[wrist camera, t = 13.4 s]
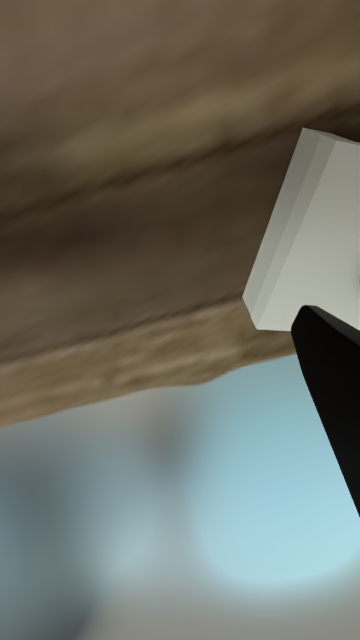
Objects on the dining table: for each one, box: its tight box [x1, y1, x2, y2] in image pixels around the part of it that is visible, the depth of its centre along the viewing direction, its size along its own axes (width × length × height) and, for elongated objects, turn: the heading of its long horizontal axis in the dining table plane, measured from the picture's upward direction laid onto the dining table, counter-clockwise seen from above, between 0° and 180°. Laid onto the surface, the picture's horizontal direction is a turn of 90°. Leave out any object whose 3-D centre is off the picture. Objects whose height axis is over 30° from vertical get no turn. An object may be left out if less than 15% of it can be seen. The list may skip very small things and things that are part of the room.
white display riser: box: [242, 128, 360, 331], centre depth 22 cm, size 12×12×4 cm
